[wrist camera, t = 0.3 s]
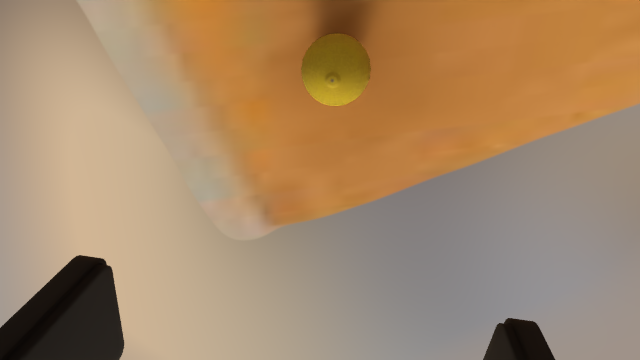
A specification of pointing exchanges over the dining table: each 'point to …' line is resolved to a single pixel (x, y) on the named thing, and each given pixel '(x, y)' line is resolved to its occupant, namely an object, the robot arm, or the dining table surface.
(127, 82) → the dining table surface
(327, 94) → the lemon
